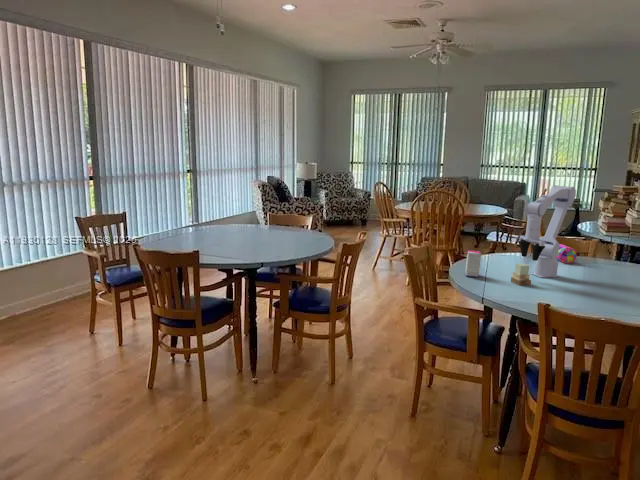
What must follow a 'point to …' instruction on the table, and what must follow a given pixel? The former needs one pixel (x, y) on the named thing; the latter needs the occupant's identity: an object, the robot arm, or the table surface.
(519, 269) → the top block
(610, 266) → the table surface
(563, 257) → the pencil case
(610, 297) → the table surface
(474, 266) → the supplement box
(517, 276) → the tower mid
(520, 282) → the tower base
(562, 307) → the table surface
